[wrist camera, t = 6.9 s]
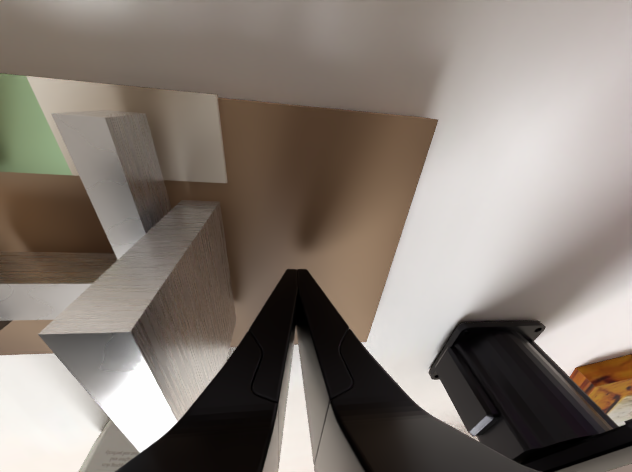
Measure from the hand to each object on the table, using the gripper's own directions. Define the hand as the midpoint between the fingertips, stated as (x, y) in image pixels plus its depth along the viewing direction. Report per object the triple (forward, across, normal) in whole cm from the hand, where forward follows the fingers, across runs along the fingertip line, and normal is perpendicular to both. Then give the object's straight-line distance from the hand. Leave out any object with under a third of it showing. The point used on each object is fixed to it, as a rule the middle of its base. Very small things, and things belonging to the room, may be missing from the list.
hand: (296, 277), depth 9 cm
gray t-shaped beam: (0, +7, -1) cm, 7 cm away
